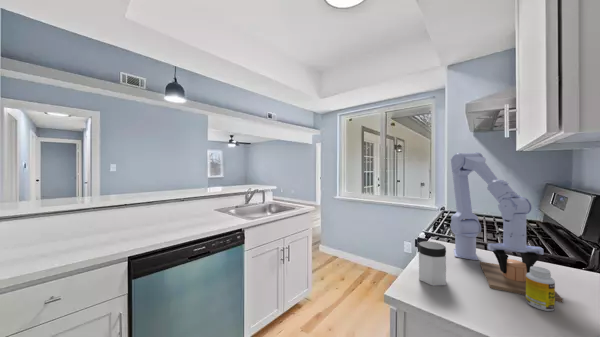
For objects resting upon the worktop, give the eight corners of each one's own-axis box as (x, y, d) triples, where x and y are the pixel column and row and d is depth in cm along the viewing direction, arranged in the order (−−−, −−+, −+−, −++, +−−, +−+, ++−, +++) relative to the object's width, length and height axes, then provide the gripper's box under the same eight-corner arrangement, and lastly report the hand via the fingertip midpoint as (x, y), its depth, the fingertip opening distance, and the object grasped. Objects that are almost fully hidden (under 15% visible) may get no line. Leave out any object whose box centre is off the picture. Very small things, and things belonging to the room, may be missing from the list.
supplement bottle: (552, 314, 60) (552, 276, 60) (523, 304, 64) (523, 268, 64) (556, 307, 63) (557, 270, 63) (528, 297, 68) (528, 263, 67)
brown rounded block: (500, 272, 81) (500, 258, 81) (519, 274, 79) (519, 260, 79) (509, 280, 76) (509, 265, 76) (530, 282, 74) (530, 267, 74)
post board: (479, 263, 90) (479, 252, 90) (536, 273, 82) (536, 260, 82) (490, 287, 73) (490, 273, 73) (562, 302, 65) (562, 286, 65)
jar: (447, 289, 73) (447, 251, 73) (418, 283, 77) (418, 247, 77) (445, 276, 81) (444, 242, 80) (419, 271, 85) (418, 239, 84)
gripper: (495, 235, 76) (495, 275, 76) (550, 238, 71) (550, 281, 72) (484, 229, 82) (484, 266, 83) (534, 231, 78) (534, 271, 78)
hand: (514, 273), depth 78 cm, fingers closed on brown rounded block, 6 cm apart
